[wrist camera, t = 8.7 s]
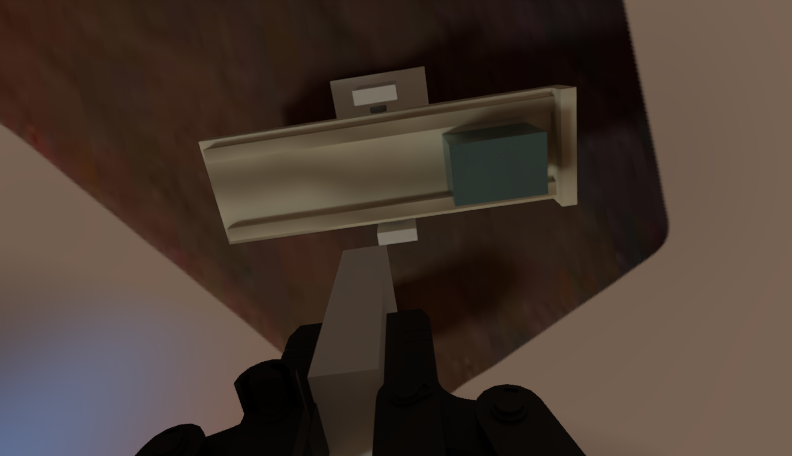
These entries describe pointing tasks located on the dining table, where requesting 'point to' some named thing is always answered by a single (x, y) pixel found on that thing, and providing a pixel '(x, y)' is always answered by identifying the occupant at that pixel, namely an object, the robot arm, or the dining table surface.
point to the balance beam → (374, 164)
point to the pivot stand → (395, 94)
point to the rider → (496, 163)
